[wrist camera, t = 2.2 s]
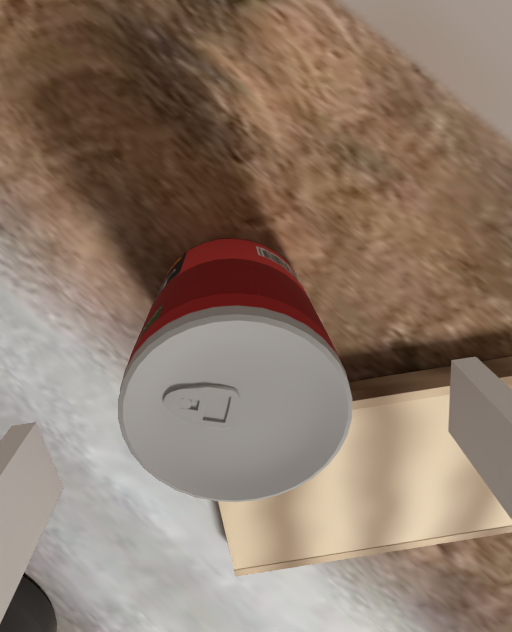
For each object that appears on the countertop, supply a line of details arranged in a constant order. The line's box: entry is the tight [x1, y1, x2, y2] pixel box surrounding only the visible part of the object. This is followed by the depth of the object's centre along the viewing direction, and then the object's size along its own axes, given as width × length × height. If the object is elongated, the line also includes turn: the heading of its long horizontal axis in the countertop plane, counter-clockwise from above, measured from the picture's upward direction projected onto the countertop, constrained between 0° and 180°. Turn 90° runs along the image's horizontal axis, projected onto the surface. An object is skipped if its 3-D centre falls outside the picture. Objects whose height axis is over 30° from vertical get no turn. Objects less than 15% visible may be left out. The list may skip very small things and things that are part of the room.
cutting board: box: [218, 356, 512, 576], centre depth 29 cm, size 20×13×2 cm, turn 98°
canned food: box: [118, 238, 352, 502], centre depth 20 cm, size 8×8×11 cm
